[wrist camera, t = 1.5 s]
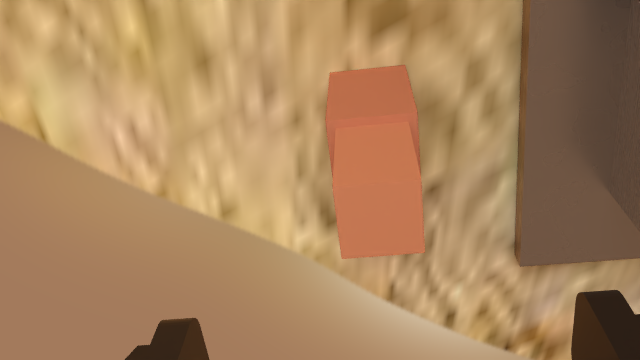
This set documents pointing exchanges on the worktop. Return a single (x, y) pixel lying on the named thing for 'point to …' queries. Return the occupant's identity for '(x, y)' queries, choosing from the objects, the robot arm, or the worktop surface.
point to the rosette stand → (579, 132)
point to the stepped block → (375, 162)
